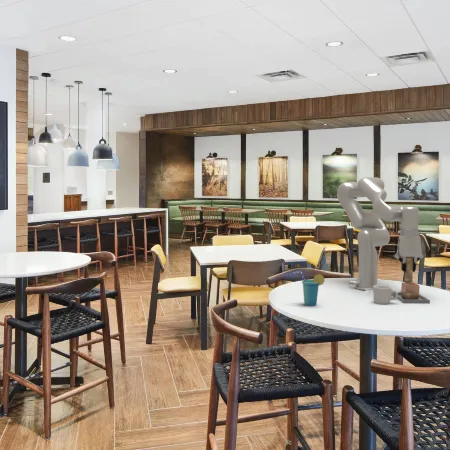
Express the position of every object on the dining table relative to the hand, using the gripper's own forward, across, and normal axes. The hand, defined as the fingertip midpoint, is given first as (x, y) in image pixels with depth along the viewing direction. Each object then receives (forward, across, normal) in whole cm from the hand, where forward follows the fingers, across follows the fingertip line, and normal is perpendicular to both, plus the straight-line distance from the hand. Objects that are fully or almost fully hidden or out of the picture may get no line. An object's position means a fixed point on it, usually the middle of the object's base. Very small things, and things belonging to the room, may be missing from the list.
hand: (408, 271), depth 220 cm
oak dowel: (+5, 0, 0) cm, 5 cm away
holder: (+13, +5, +10) cm, 17 cm away
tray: (+14, 0, -3) cm, 14 cm away
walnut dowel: (+10, 0, -4) cm, 11 cm away
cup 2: (+14, -14, -10) cm, 22 cm away
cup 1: (+14, -49, -12) cm, 52 cm away
